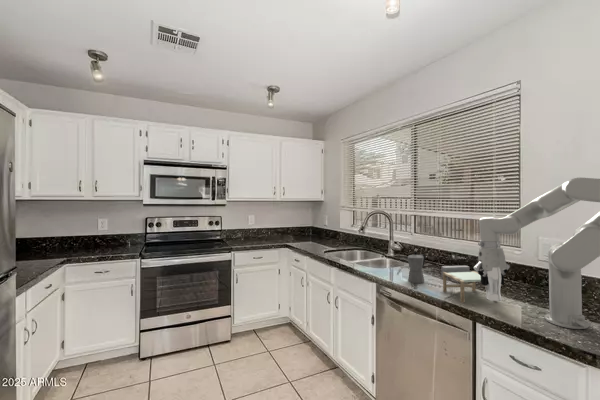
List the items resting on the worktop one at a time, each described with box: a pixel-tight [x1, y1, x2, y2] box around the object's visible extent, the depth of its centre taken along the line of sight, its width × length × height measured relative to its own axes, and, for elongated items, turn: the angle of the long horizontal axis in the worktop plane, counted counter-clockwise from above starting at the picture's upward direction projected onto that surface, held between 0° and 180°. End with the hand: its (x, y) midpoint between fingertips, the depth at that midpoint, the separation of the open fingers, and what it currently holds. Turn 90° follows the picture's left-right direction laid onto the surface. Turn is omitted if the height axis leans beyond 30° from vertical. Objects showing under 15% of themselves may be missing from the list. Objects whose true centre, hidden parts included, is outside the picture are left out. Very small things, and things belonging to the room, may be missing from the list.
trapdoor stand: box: [442, 270, 498, 304], centre depth 147 cm, size 17×17×10 cm
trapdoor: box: [440, 265, 481, 283], centre depth 150 cm, size 20×14×5 cm
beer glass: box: [483, 267, 503, 302], centre depth 129 cm, size 7×7×15 cm
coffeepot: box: [407, 251, 426, 284], centre depth 175 cm, size 15×9×18 cm, turn 121°
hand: (492, 284), depth 129 cm, fingers closed on beer glass, 6 cm apart
